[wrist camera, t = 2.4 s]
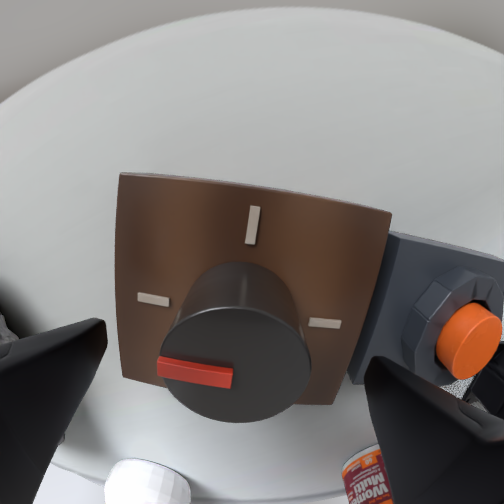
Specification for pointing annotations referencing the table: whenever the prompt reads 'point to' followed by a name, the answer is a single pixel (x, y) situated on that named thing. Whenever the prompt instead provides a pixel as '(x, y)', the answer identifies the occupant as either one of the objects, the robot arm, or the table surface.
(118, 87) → the table surface
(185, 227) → the panel
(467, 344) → the button
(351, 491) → the pill bottle
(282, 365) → the knob
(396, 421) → the robot arm
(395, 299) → the button box
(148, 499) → the bottle
